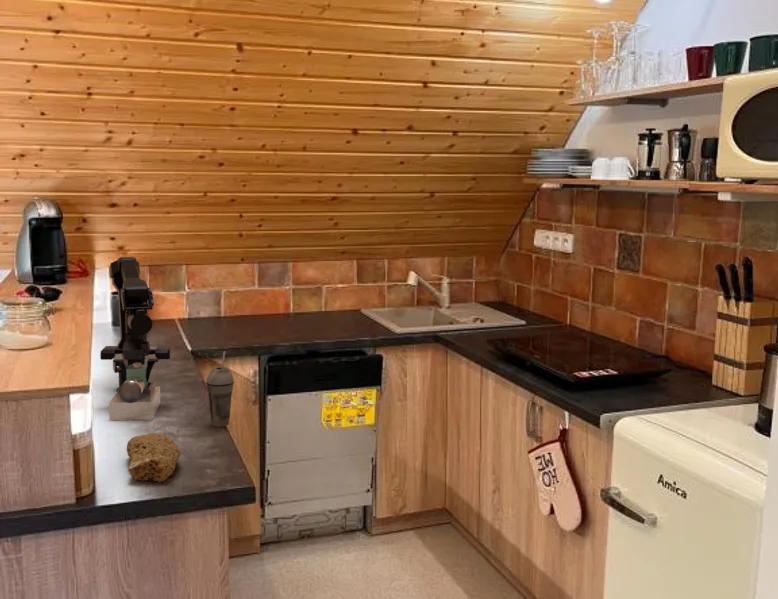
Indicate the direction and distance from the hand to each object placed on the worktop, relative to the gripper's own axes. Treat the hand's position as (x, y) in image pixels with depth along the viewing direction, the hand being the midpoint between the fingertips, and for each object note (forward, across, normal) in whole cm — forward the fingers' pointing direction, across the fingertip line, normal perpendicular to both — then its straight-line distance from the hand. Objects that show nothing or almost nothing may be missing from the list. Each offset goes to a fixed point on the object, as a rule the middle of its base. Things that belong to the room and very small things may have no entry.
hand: (137, 382), depth 217 cm
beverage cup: (+8, +24, -16) cm, 30 cm away
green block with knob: (+2, 0, 0) cm, 2 cm away
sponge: (+8, +11, -47) cm, 49 cm away
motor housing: (+8, 0, -4) cm, 8 cm away
